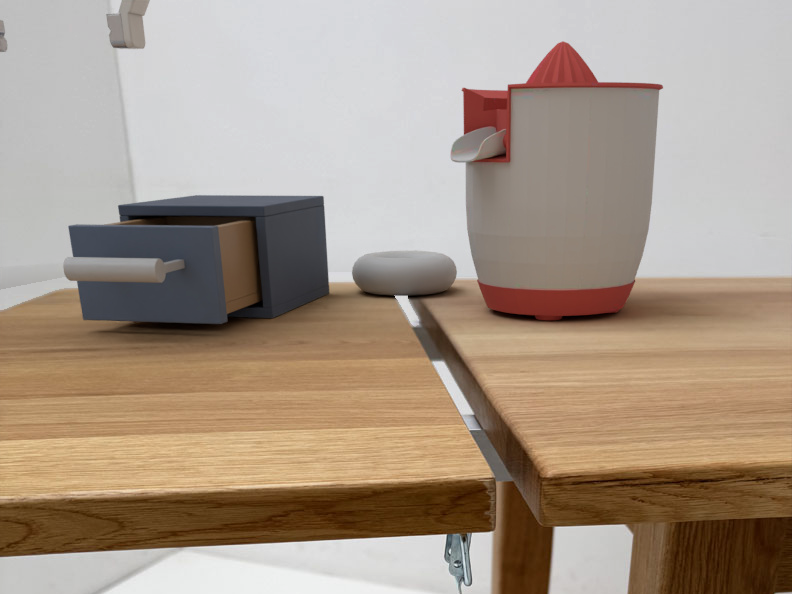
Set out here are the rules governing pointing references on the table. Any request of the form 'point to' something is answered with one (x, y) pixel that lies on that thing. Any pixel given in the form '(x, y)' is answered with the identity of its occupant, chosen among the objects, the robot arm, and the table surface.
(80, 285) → the drawer
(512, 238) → the citrus juicer
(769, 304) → the table surface
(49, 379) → the table surface
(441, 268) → the donut
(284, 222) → the cabinet
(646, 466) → the table surface
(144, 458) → the table surface
